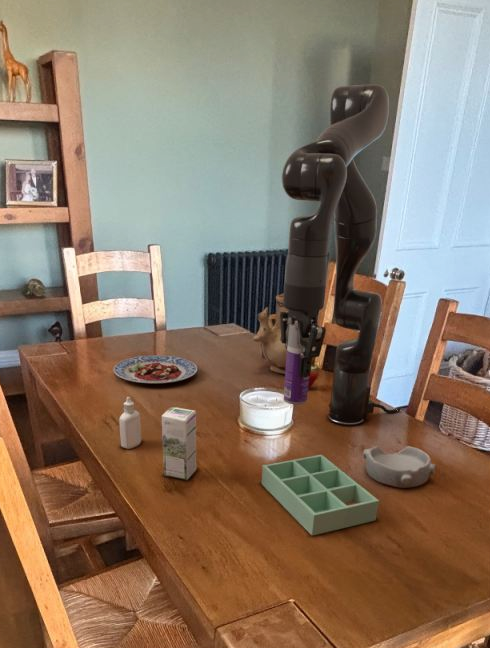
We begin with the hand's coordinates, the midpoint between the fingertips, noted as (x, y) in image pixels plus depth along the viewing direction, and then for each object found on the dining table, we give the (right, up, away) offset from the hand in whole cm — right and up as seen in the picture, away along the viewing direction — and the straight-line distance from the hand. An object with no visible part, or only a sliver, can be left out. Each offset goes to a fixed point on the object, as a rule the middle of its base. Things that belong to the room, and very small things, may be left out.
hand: (297, 372), depth 119 cm
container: (0, -5, +3) cm, 6 cm away
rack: (+5, -25, +8) cm, 27 cm away
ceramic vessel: (+2, +18, +79) cm, 81 cm away
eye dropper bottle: (-38, -11, +29) cm, 48 cm away
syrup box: (-25, -19, +17) cm, 35 cm away
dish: (+24, -19, +19) cm, 36 cm away
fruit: (+9, +10, +65) cm, 67 cm away
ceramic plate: (-38, +15, +72) cm, 82 cm away
